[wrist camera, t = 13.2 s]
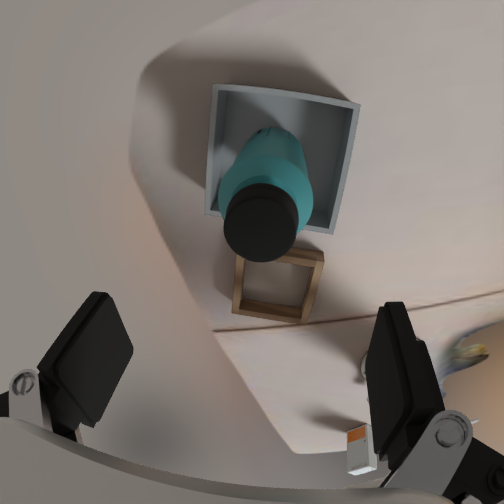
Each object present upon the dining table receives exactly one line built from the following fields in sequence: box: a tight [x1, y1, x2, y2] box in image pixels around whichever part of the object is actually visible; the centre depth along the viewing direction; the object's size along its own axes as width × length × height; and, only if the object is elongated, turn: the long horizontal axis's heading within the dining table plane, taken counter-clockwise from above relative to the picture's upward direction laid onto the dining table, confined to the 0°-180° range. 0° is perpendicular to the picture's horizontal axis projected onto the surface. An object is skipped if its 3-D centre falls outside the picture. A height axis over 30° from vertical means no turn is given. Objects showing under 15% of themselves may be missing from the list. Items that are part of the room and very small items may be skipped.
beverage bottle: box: [218, 126, 313, 262], centre depth 25 cm, size 6×7×20 cm
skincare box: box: [347, 424, 377, 475], centre depth 59 cm, size 6×4×12 cm
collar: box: [232, 247, 324, 325], centre depth 42 cm, size 11×11×2 cm
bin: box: [204, 83, 361, 235], centre depth 32 cm, size 14×14×6 cm
